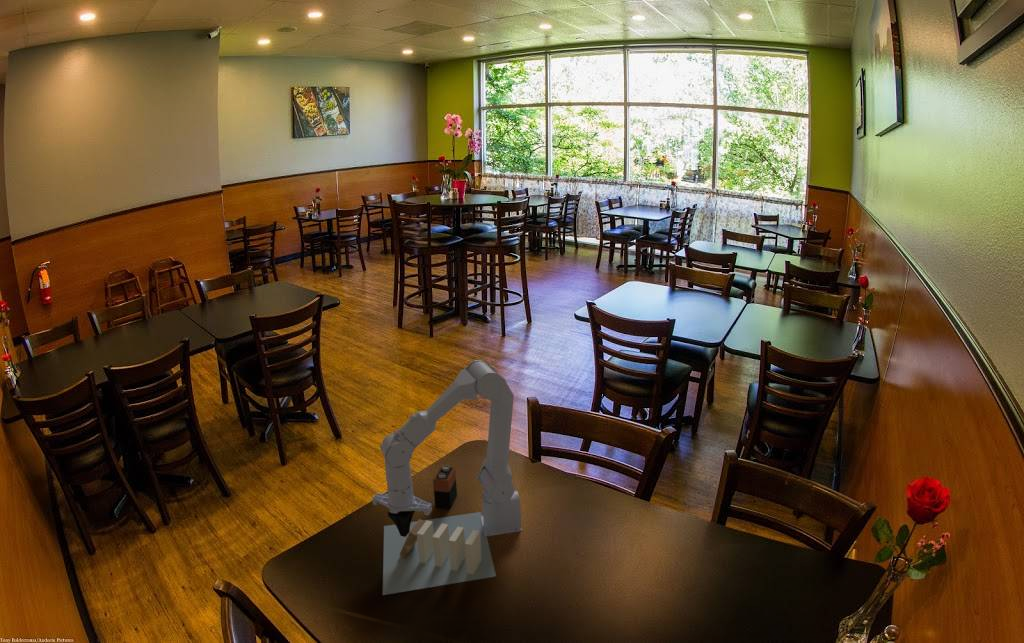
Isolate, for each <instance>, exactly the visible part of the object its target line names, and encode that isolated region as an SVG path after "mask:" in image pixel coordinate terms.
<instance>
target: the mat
mask: <svg viewBox="0 0 1024 643" xmlns="http://www.w3.org/2000/svg"><path fill="white" fill-rule="evenodd" d="M481 516H483V513H482V512H481V511H478V512H472V513H463V514H457V515H451V516H443V517H439V518H438V517H437V518H431V519H421V520H422V521H424V522H426V521H427V520H428V521H433V530H434V534H435V533H436V531H437V530H438V528H439V527H440V525H441V524H442V523H443V524H448V528H449V539H450V537H451V536H452V534H453V533H454V531H455V530H456V528H457V527H463V528H464V535H465V543H466V541H467V539H468V538H469V536H470V535H471V533H472V531H473V530H478V531H480V539H481V557H482V560H481V562H480V564H479V565H478V567H477V569H476V571H475V573H474V574H469V573H467V567H466V557H465V559H464V560H463V562H462V564H461V565H460V567H459V569H458V570H457V571H456V570H451V565H450V554H449V556H448V558H447V559H446V561H445V562H444V564H443V565H442V567H438V566H435V560H434V552H433V554H432V555H431V557H430V558H429V560H428V561H427V563H426V564H425V563H420V562H419V551H418V541H417V542H416V544H415V546H414V547H413V548H412V550H411V551H410V552H409V554H408V555H407V557H406V558H403V557H402V556H400V552H401V550H402V548H403V546H404V543H405V541H406V539H407V537H408V535H409V533H408V534H407V536H406V537H403V536H400V533H399V531H398V529H397V527H396V525H395V524H390V525H383V556H382V557H383V561H382V562H383V564H382V565H383V567H382V568H383V569H382V596H386V595H393V594H398V593H405V592H411V591H416V590H422V589H428V588H433V587H440V586H447V585H452V584H459V583H463V582H464V583H465V582H471V581H476V580H483V579H489V578H494V577H497V574H496V570H495V565H494V561H493V558H492V553H491V549H490V544H489V540H488V536H485V535H484V531H483V527H482V523H481V518H480V517H481ZM417 522H418V520H417V521H411V524H410V531H411V530H412V528H413V527H414V526H415V524H416V523H417ZM410 531H409V532H410Z"/></svg>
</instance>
